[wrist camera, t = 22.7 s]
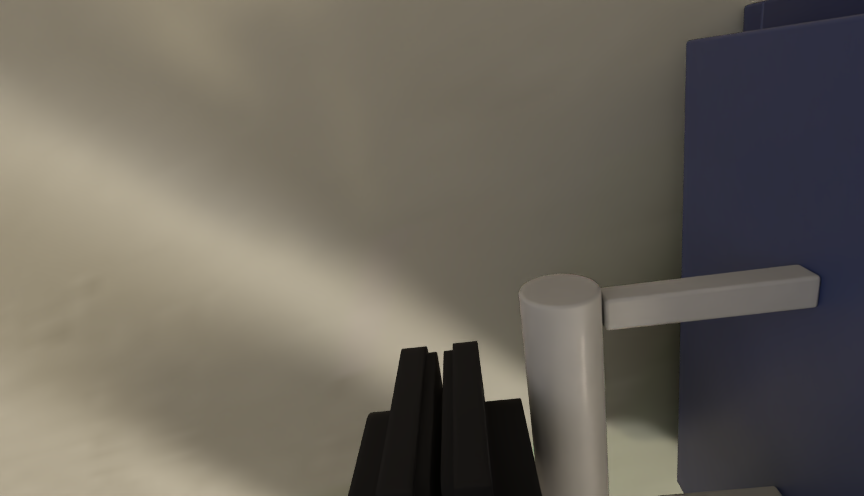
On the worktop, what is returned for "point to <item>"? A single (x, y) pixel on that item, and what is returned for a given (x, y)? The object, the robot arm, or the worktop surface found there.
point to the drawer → (736, 283)
